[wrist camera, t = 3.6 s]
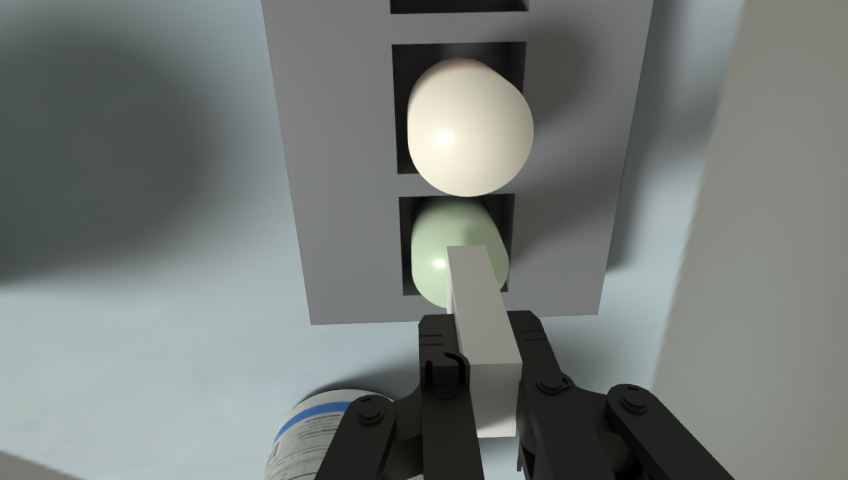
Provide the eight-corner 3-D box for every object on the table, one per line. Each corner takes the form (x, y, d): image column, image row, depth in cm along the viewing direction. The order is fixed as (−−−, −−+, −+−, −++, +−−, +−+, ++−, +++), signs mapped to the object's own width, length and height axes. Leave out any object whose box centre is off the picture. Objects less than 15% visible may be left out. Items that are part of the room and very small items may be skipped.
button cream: (405, 58, 18) (405, 72, 14) (512, 56, 18) (539, 69, 14) (409, 162, 19) (409, 198, 16) (506, 159, 20) (528, 194, 16)
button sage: (409, 190, 22) (410, 226, 18) (495, 187, 22) (512, 223, 19) (412, 264, 24) (413, 311, 20) (491, 262, 24) (506, 307, 20)
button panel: (255, -191, 17) (226, -228, 14) (649, -195, 17) (695, -232, 14) (321, 291, 26) (311, 325, 23) (577, 282, 26) (597, 314, 23)
